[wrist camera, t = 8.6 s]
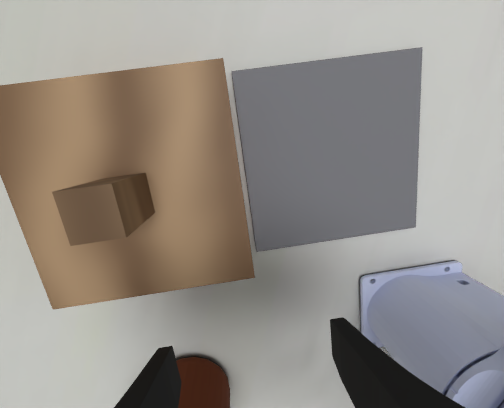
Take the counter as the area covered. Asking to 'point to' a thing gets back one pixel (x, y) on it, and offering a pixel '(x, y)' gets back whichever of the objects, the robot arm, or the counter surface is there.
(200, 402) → the bottle
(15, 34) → the counter surface
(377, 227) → the mat
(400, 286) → the robot arm
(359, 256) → the counter surface
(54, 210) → the lid
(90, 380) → the counter surface
